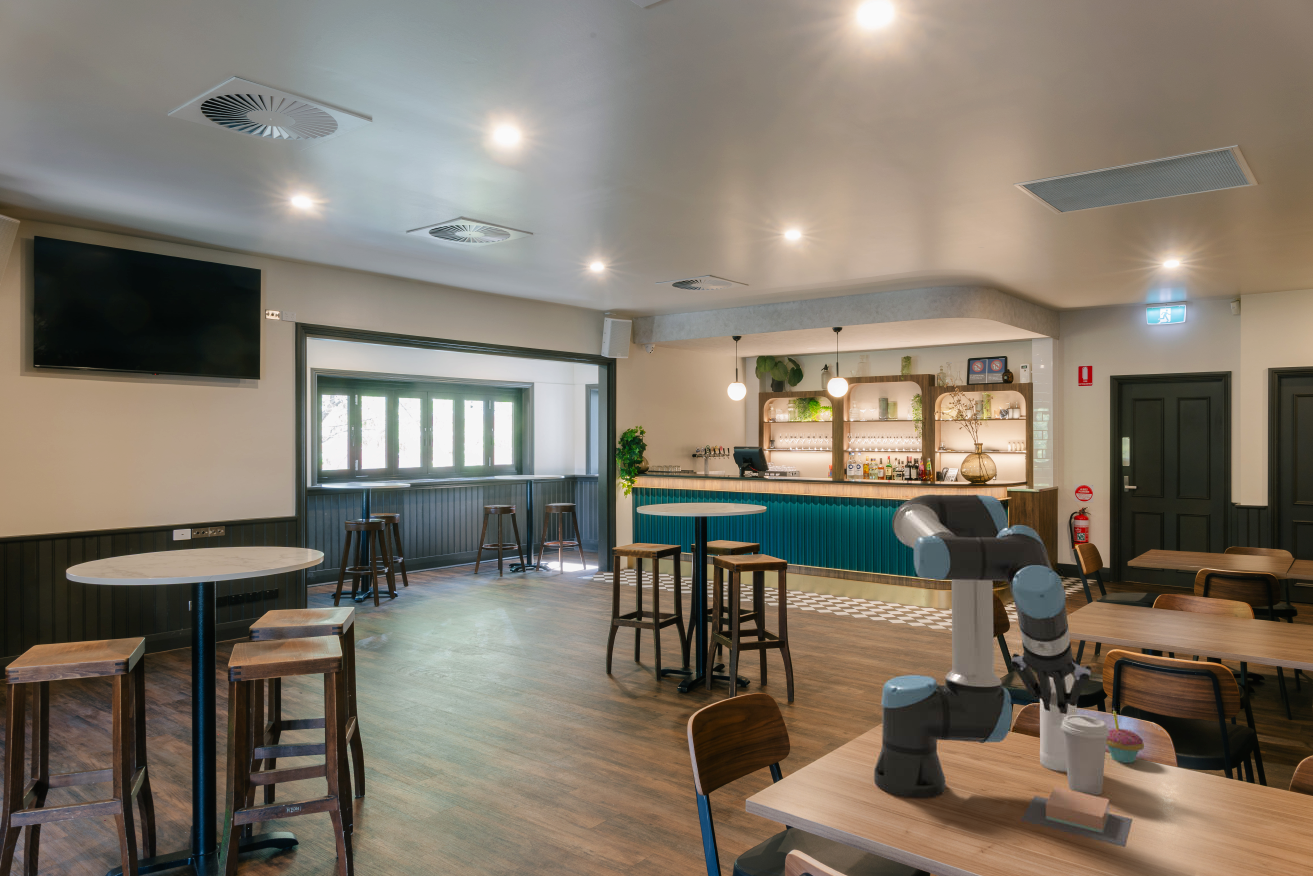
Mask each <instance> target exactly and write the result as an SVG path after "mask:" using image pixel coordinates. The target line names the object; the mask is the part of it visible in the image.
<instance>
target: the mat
mask: <svg viewBox="0 0 1313 876" xmlns="http://www.w3.org/2000/svg"><path fill="white" fill-rule="evenodd" d="M1048 799H1049V798H1047V797H1041V796H1038V795H1033V797H1032V799H1031V801H1030V803H1029V805H1028V807H1027V808H1026V809H1025V811H1024V813H1023V815H1022V816H1021V819H1020V821H1022V822H1026V823H1031V824H1034V825H1039V826H1041V827H1046V828H1050V829H1054V830H1058V831H1061V832H1065V833H1069V834H1073V835H1077V836H1081V837H1084V838H1087V839H1092V840H1097V841H1100V842H1104V843H1108V844H1111V845H1116V846H1119V847H1120V846H1121V847H1123V848H1124V847H1125V848H1126V844H1127V840H1128V836H1129V834H1130V833H1129V832H1130V829H1131V824H1132V821H1133V818H1129V817H1126V816H1122V815H1121V816H1120V815H1117V814H1112V813H1110V812H1109V816H1108V819H1107V822H1106V825H1105V828H1104V831H1103V833H1100V832H1096V831H1092V830H1089V829H1085V828H1081V827H1077V826H1073V825H1069V824H1065V823H1061V822H1057V821H1053V820H1049V819H1046V803H1047V801H1048Z"/></svg>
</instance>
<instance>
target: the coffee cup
mask: <svg viewBox="0 0 1313 876" xmlns="http://www.w3.org/2000/svg"><path fill="white" fill-rule="evenodd" d="M1060 728H1061V729H1062V730H1063V736H1064V746H1065V756H1066V766H1067V772H1066V775H1067V776H1066V777H1067V786H1068V788H1069V790H1070V791H1075V792H1079V793H1083V794H1088V795H1092V796H1100V795H1101V794H1102V793H1103V781H1104V771H1105V770H1104V769H1105V759H1106V748H1107V744H1106V740H1107V736H1109V730H1108V729H1109V728H1108V727H1107V726H1106V723H1105V722H1104V721H1103V720H1102V719H1099V718H1097V717H1093V716H1090V715H1082V714H1081V715H1080V714H1077V715H1068V716H1066V717H1065V718H1064V721H1062V726H1060Z"/></svg>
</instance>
